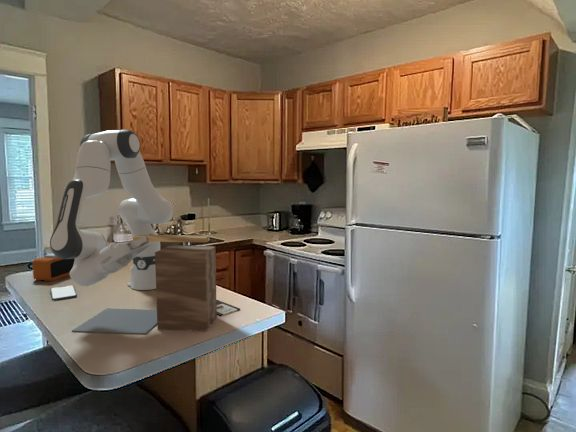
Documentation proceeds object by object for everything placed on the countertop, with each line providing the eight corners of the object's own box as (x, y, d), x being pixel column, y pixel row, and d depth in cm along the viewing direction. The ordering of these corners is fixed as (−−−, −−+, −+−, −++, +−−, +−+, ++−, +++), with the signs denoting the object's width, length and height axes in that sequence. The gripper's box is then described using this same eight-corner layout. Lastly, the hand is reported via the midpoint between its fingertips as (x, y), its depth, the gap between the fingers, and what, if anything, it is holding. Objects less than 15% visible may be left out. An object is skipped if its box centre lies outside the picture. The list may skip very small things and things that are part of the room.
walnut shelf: (171, 315, 133) (169, 245, 130) (216, 317, 132) (215, 246, 129) (157, 329, 121) (154, 252, 118) (206, 331, 120) (205, 253, 117)
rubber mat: (106, 309, 139) (106, 308, 139) (170, 311, 137) (170, 310, 137) (71, 331, 119) (71, 330, 119) (145, 334, 117) (145, 333, 117)
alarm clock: (48, 282, 174) (47, 258, 173) (33, 281, 175) (31, 257, 174) (85, 269, 197) (84, 248, 196) (71, 268, 199) (70, 247, 198)
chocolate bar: (211, 297, 151) (240, 308, 139) (211, 299, 151) (240, 311, 139) (191, 303, 145) (220, 315, 132) (191, 305, 145) (220, 317, 132)
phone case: (77, 298, 153) (73, 288, 166) (77, 295, 152) (73, 284, 166) (51, 303, 148) (50, 291, 161) (51, 299, 147) (49, 288, 161)
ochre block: (138, 239, 127) (138, 234, 127) (209, 240, 125) (209, 235, 125) (133, 241, 123) (133, 236, 123) (205, 242, 121) (205, 237, 121)
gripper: (92, 255, 115) (129, 233, 114) (126, 242, 136) (157, 224, 134) (103, 272, 116) (140, 251, 114) (135, 257, 136) (167, 239, 134)
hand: (150, 236), depth 124 cm, fingers closed on ochre block, 4 cm apart
